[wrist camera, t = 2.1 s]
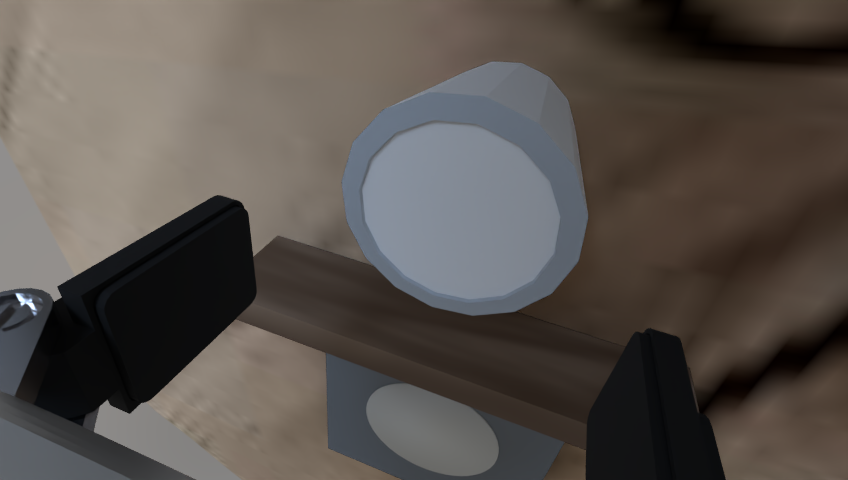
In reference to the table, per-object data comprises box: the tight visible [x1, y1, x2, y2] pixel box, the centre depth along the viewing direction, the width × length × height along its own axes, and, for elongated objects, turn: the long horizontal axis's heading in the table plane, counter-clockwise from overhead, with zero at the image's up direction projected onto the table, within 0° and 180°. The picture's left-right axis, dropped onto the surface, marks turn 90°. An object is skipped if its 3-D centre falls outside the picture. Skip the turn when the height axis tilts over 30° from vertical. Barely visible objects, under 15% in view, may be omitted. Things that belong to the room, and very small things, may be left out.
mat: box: [326, 353, 564, 480], centre depth 28 cm, size 15×15×1 cm
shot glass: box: [342, 61, 588, 316], centre depth 14 cm, size 7×7×7 cm
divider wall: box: [236, 236, 699, 450], centre depth 21 cm, size 2×22×5 cm, turn 83°
